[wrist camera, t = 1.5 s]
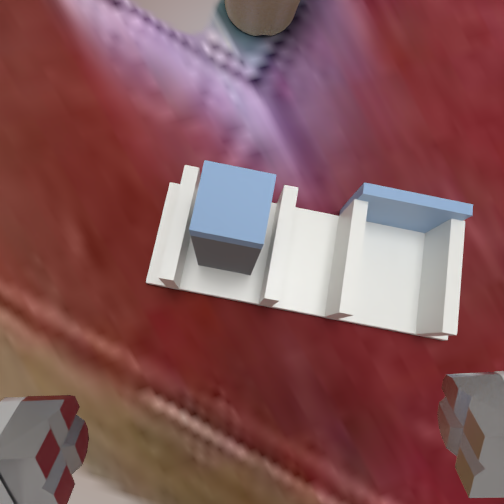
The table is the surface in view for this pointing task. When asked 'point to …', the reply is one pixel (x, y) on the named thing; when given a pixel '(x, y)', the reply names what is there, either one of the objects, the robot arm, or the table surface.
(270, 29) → the flower pot
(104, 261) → the table surface
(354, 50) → the table surface
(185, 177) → the slotted rack with block
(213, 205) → the plug
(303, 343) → the table surface
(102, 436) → the table surface
